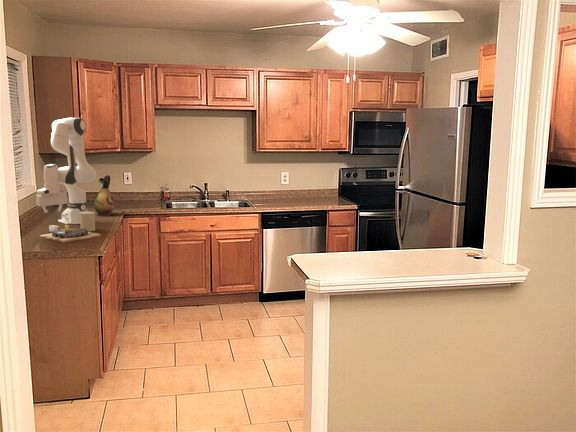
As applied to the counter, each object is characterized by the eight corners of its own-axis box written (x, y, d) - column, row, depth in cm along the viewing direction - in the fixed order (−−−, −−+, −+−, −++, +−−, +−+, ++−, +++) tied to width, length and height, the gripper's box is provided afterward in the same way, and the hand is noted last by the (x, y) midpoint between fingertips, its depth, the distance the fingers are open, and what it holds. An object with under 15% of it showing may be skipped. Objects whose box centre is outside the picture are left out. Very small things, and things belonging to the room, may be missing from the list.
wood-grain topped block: (49, 231, 344) (48, 225, 343) (53, 231, 347) (53, 224, 346) (54, 233, 341) (54, 226, 340) (59, 232, 343) (58, 226, 343)
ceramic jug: (108, 217, 401) (107, 176, 396) (90, 215, 404) (88, 175, 399) (120, 213, 417) (119, 174, 412) (102, 212, 420) (100, 174, 415)
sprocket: (47, 237, 321) (47, 226, 319) (57, 230, 340) (57, 220, 339) (83, 237, 323) (83, 226, 322) (91, 231, 343) (90, 220, 342)
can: (97, 230, 352) (97, 212, 350) (84, 232, 346) (83, 213, 344) (91, 228, 359) (91, 210, 357) (78, 229, 352) (77, 211, 350)
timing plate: (39, 236, 328) (39, 230, 327) (74, 230, 349) (74, 224, 348) (65, 242, 315) (65, 235, 314) (100, 235, 336) (100, 229, 335)
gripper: (63, 188, 349) (64, 209, 351) (34, 191, 332) (35, 213, 334) (69, 189, 346) (70, 210, 348) (40, 191, 329) (41, 214, 331)
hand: (52, 212), depth 341 cm, fingers open, 8 cm apart
